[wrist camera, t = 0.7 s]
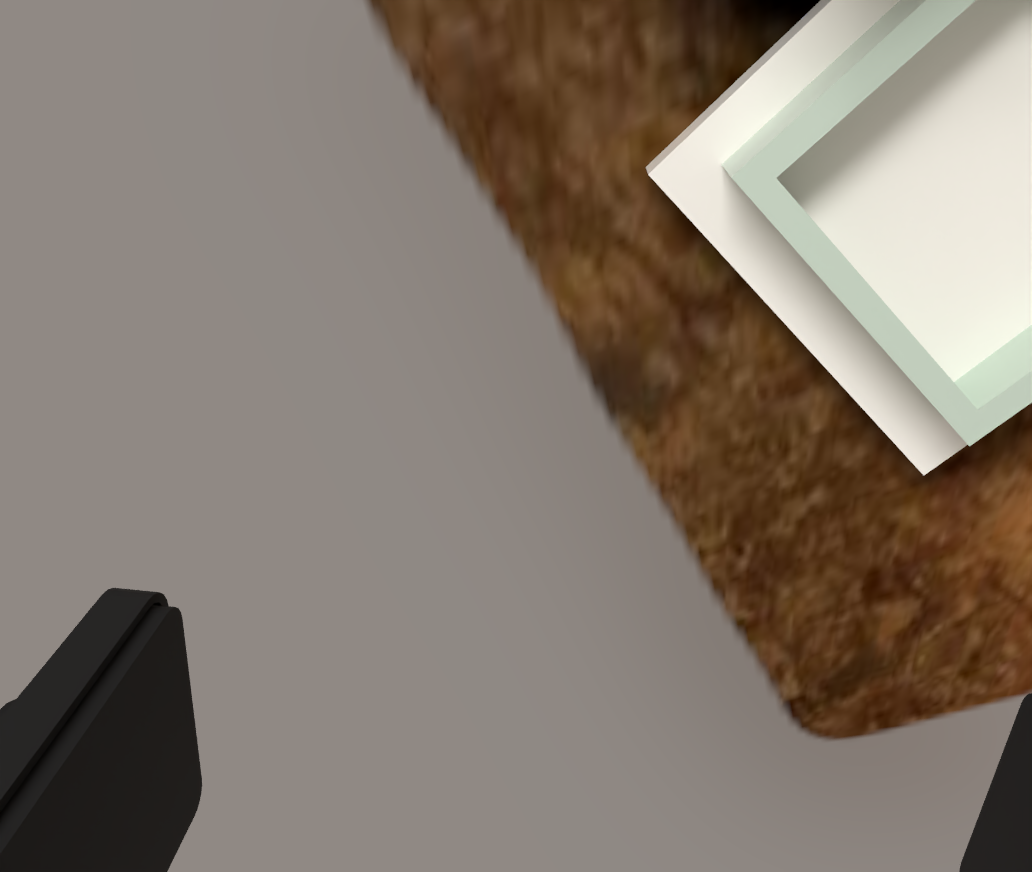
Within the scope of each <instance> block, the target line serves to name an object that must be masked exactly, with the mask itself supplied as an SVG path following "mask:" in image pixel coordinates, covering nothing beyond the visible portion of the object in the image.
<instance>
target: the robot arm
mask: <svg viewBox="0 0 1032 872" xmlns="http://www.w3.org/2000/svg"><path fill="white" fill-rule="evenodd" d="M201 789H202V777H201V769H200V761H199V753H198V744H197V736H196V728H195V719H194V712H193V703H192V695H191V686H190V678H189V671H188V662H187V654H186V646H185V637H184V628H183V620H182V615H181V612H180V610H179V609H178V608H176V607H169V606H168V603H167V599H166V598H165V596H164V595H163V594H162V593H159V592H150V591H140V590H130V589H119V588H111V589H108V590H107V591H106V592H105V593H104V594H103V595H102V596H101V597H100V598H99V599H98V600H97V602H96V603H95V604H94V605H93V606H92V608H91V609H90V610H89V611H88V613H87V614H86V615H85V616H84V617H83V619H82V620H81V621H80V622H79V624H78V625H77V626H76V627H75V628H74V630H73V631H72V632H71V633H70V634H69V636H68V637H67V638H66V640H65V641H64V642H63V643H62V644H61V646H60V647H59V648H58V649H57V650H56V652H55V653H54V654H53V655H52V656H51V658H50V659H49V660H48V661H47V662H46V664H45V665H44V666H43V667H42V669H41V670H40V671H39V672H38V674H37V675H36V676H35V677H34V678H33V680H32V681H31V682H30V683H29V684H28V686H27V687H26V688H25V689H24V690H23V692H22V693H21V694H20V695H19V697H18V698H17V699H15V700H13V701H11V702H8V703H7V704H5V706H3V707H2V708H1V709H0V872H167V871H168V869H169V867H170V864H171V863H172V861H173V859H174V856H175V855H176V853H177V850H178V848H179V846H180V844H181V842H182V840H183V838H184V836H185V834H186V832H187V830H188V828H189V826H190V824H191V822H192V820H193V818H194V816H195V813H196V811H197V808H198V805H199V801H200V796H201ZM960 872H1032V693H1031V694H1028V695H1027V696H1026V697H1025V698H1024V699H1023V701H1022V703H1021V706H1020V708H1019V711H1018V714H1017V716H1016V719H1015V722H1014V724H1013V727H1012V730H1011V732H1010V735H1009V738H1008V740H1007V743H1006V745H1005V748H1004V751H1003V753H1002V756H1001V759H1000V761H999V764H998V767H997V769H996V772H995V775H994V777H993V780H992V783H991V785H990V788H989V791H988V793H987V796H986V798H985V801H984V804H983V806H982V809H981V812H980V814H979V817H978V820H977V822H976V825H975V828H974V830H973V833H972V836H971V838H970V841H969V843H968V846H967V849H966V852H965V854H964V857H963V859H962V862H961V866H960Z"/></svg>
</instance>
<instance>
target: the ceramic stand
mask: <svg viewBox="0 0 1032 872" xmlns="http://www.w3.org/2000/svg"><path fill="white" fill-rule="evenodd" d="M646 169H647V173H648V175H649V176H650V177H651V178H652V179H653V180H654V181H655V183H656V184H657V185H658V186H659V187H660V188H661V189H662V190H663V191H664V192H665V193H666V195H667V196H668V197H669V198H670V199H671V200H672V201H673V202H674V203H675V204H676V205H677V207H678V208H679V209H680V210H681V211H682V212H683V213H684V214H685V215H686V216H687V218H688V219H689V220H690V221H691V222H692V223H693V224H694V225H695V226H696V227H697V228H698V230H699V231H700V232H701V233H702V234H703V235H704V236H705V237H706V238H707V239H708V240H709V242H710V243H711V244H712V245H713V246H714V247H715V248H716V249H717V250H718V251H719V252H720V254H721V255H722V256H723V257H724V258H725V259H726V260H727V261H728V262H729V263H730V264H731V266H732V267H733V268H734V269H735V270H736V271H737V272H738V273H739V274H740V275H741V277H742V278H743V279H744V280H745V281H746V282H747V283H748V284H749V285H750V286H751V287H752V289H753V290H754V291H755V292H756V293H757V294H758V295H759V296H760V297H761V298H762V299H763V301H764V302H765V303H766V304H767V305H768V306H769V307H770V308H771V309H772V310H773V311H774V313H775V314H776V315H777V316H778V317H779V318H780V319H781V320H782V321H783V322H784V323H785V325H786V326H787V327H788V328H789V329H790V330H791V331H792V332H793V333H794V334H795V336H796V337H797V338H798V339H799V340H800V341H801V342H802V343H803V344H804V345H805V346H806V348H807V349H808V350H809V351H810V352H811V353H812V354H813V355H814V356H815V357H816V358H817V360H818V361H819V362H820V363H821V364H822V365H823V366H824V367H825V368H826V369H827V370H828V372H829V373H830V374H831V375H832V376H833V377H834V378H835V379H836V380H837V381H838V382H839V384H840V385H841V386H842V387H843V388H844V389H845V390H846V391H847V392H848V393H849V395H850V396H851V397H852V398H853V399H854V400H855V401H856V402H857V403H858V404H859V405H860V407H861V408H862V409H863V410H864V411H865V412H866V413H867V414H868V415H869V416H870V417H871V419H872V420H873V421H874V422H875V423H876V424H877V425H878V426H879V427H880V428H881V429H882V431H883V432H884V433H885V434H886V435H887V436H888V437H889V438H890V439H891V440H892V441H893V443H894V444H895V445H896V446H897V447H898V448H899V449H900V450H901V451H902V452H903V453H904V455H905V456H906V457H907V458H908V459H909V460H910V461H911V462H912V463H913V464H914V466H915V467H916V468H917V469H918V470H919V471H920V472H921V473H922V474H923V475H925V474H927V473H928V472H930V471H931V470H932V469H934V468H935V467H937V466H938V465H940V464H941V463H942V462H944V461H945V460H947V459H948V458H949V457H951V456H952V455H954V454H955V453H957V452H958V451H959V450H961V449H962V448H964V447H965V446H966V445H969V446H971V445H972V444H974V443H975V442H976V441H978V440H979V439H981V438H982V437H984V436H985V435H986V434H988V433H989V432H991V431H992V430H993V429H995V428H996V427H998V426H999V425H1001V424H1002V423H1003V422H1005V421H1006V420H1008V419H1009V418H1010V417H1012V416H1013V415H1015V414H1016V413H1018V412H1019V411H1020V410H1022V409H1023V408H1025V407H1026V406H1027V405H1029V404H1030V403H1032V0H821V1H820V2H819V3H817V4H816V5H815V6H814V7H813V8H812V9H811V10H810V11H809V12H808V13H807V14H806V15H805V16H804V17H803V18H802V19H801V20H800V21H799V22H798V23H796V24H795V25H794V26H793V27H792V28H791V29H790V30H789V31H788V32H787V33H786V34H785V35H784V36H783V37H782V38H781V39H780V40H779V41H778V42H777V43H776V44H774V45H773V46H772V47H771V48H770V49H769V50H768V51H767V52H766V53H765V54H764V55H763V56H762V57H761V58H760V59H759V60H758V61H757V62H756V63H755V64H753V65H752V66H751V67H750V68H749V69H748V70H747V71H746V72H745V73H744V74H743V75H742V76H741V77H740V78H739V79H738V80H737V81H736V82H735V83H734V84H733V85H731V86H730V87H729V88H728V89H727V90H726V91H725V92H724V93H723V94H722V95H721V96H720V97H719V98H718V99H717V100H716V101H715V102H714V103H713V104H712V105H710V106H709V107H708V108H707V109H706V110H705V111H704V112H703V113H702V114H701V115H700V116H699V117H698V118H697V119H696V120H695V121H694V122H693V123H692V124H691V125H690V126H688V127H687V128H686V129H685V130H684V131H683V132H682V133H681V134H680V135H679V136H678V137H677V138H676V139H675V140H674V141H673V142H672V143H671V144H670V145H669V146H668V147H666V148H665V149H664V150H663V151H662V152H661V153H660V154H659V155H658V156H657V157H656V158H655V159H654V160H653V161H652V162H651V163H650V164H649V165H648V166H647V167H646Z"/></svg>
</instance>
